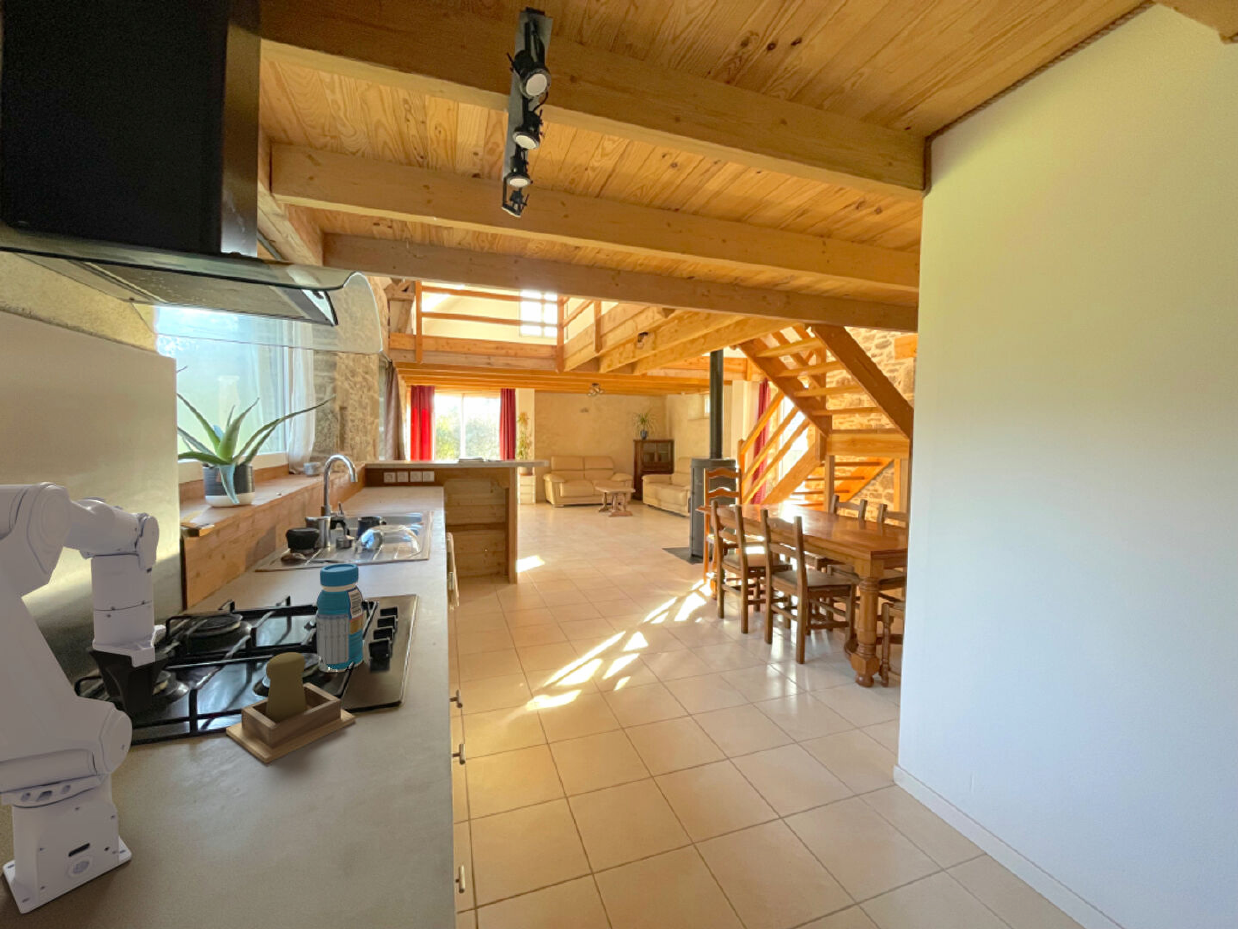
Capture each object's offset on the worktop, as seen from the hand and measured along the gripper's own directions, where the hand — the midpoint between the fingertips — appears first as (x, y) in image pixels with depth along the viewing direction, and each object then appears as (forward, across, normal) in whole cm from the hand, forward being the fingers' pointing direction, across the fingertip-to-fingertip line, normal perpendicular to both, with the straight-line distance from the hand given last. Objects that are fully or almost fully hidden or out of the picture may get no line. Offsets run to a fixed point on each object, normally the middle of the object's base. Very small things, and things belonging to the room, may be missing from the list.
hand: (128, 701), depth 68 cm
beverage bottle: (+11, +10, -34) cm, 37 cm away
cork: (+10, -5, -17) cm, 20 cm away
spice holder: (+10, -6, -18) cm, 21 cm away
